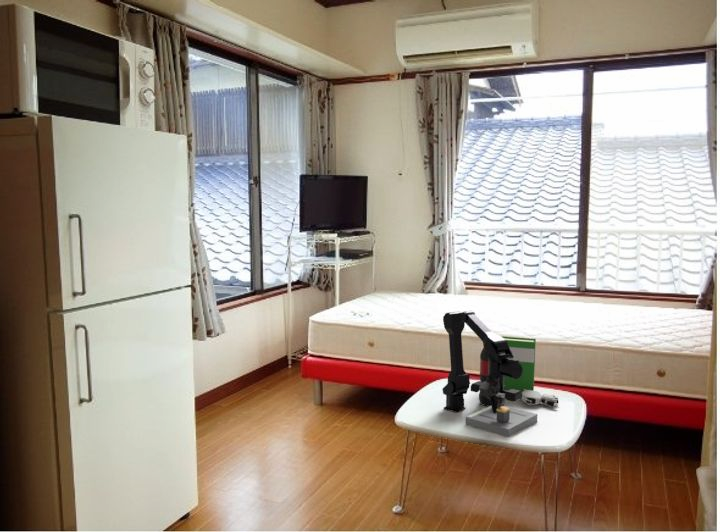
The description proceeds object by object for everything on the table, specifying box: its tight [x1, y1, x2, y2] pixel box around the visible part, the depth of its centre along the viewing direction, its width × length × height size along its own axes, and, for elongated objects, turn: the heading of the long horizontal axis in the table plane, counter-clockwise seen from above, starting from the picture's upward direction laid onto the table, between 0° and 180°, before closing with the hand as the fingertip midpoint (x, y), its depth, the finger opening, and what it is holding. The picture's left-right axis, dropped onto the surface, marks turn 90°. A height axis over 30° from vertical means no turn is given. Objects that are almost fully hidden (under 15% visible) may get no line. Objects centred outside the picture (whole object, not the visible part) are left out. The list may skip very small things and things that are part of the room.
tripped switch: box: [497, 405, 510, 423], centre depth 222 cm, size 3×4×4 cm
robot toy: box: [520, 389, 559, 407], centre depth 251 cm, size 12×4×15 cm
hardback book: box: [500, 335, 536, 393], centre depth 266 cm, size 18×7×24 cm, turn 71°
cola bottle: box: [478, 332, 500, 407], centre depth 249 cm, size 8×8×30 cm
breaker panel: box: [464, 405, 538, 438], centre depth 228 cm, size 18×22×3 cm
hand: (495, 413), depth 224 cm, fingers closed
